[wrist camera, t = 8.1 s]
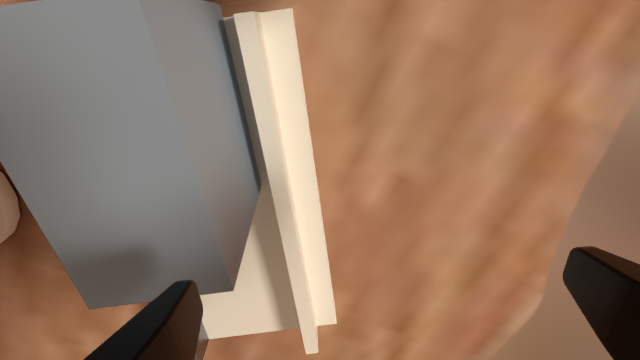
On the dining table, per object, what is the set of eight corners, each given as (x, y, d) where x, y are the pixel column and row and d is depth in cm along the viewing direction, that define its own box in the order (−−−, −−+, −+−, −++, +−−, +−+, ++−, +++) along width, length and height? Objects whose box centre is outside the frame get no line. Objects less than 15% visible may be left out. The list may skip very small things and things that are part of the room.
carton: (219, 3, 14) (134, -14, 7) (261, 185, 18) (233, 291, 11) (105, 20, 14) (-92, 19, 7) (171, 197, 18) (85, 309, 11)
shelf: (86, 37, 16) (32, 41, 13) (292, 9, 16) (289, 6, 13) (201, 323, 25) (185, 368, 22) (335, 306, 25) (339, 350, 21)
